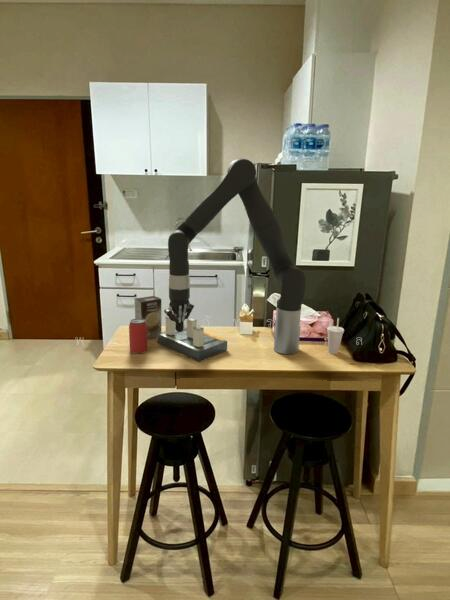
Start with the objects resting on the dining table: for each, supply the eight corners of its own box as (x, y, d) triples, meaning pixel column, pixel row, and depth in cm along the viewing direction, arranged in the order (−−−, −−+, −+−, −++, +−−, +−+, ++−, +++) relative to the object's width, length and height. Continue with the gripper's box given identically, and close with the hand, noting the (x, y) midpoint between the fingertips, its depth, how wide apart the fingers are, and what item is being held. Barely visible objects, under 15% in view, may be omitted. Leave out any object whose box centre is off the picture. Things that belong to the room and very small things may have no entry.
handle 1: (170, 331, 162) (170, 315, 160) (175, 333, 160) (175, 317, 158) (165, 333, 160) (165, 316, 158) (170, 335, 158) (170, 318, 156)
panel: (185, 334, 172) (185, 324, 171) (227, 350, 156) (227, 340, 155) (157, 343, 161) (157, 333, 160) (198, 362, 146) (198, 351, 145)
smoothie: (342, 356, 155) (346, 321, 151) (324, 354, 156) (328, 319, 152) (340, 349, 161) (344, 316, 157) (324, 348, 162) (327, 314, 158)
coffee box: (142, 340, 164) (141, 302, 159) (135, 335, 169) (133, 298, 164) (162, 335, 170) (161, 298, 165) (154, 331, 174) (153, 295, 170)
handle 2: (197, 343, 151) (198, 325, 150) (203, 345, 150) (203, 327, 148) (193, 344, 150) (193, 327, 148) (198, 347, 148) (198, 329, 146)
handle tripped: (191, 334, 160) (191, 318, 158) (196, 336, 158) (196, 319, 156) (186, 336, 158) (186, 319, 156) (191, 338, 156) (192, 321, 154)
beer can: (130, 347, 157) (129, 318, 153) (147, 346, 158) (146, 317, 154) (129, 354, 150) (128, 323, 147) (147, 353, 152) (146, 323, 148)
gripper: (171, 291, 140) (172, 338, 145) (199, 285, 149) (199, 329, 154) (158, 287, 145) (159, 332, 150) (186, 281, 154) (186, 324, 159)
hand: (179, 330), depth 152 cm, fingers closed
